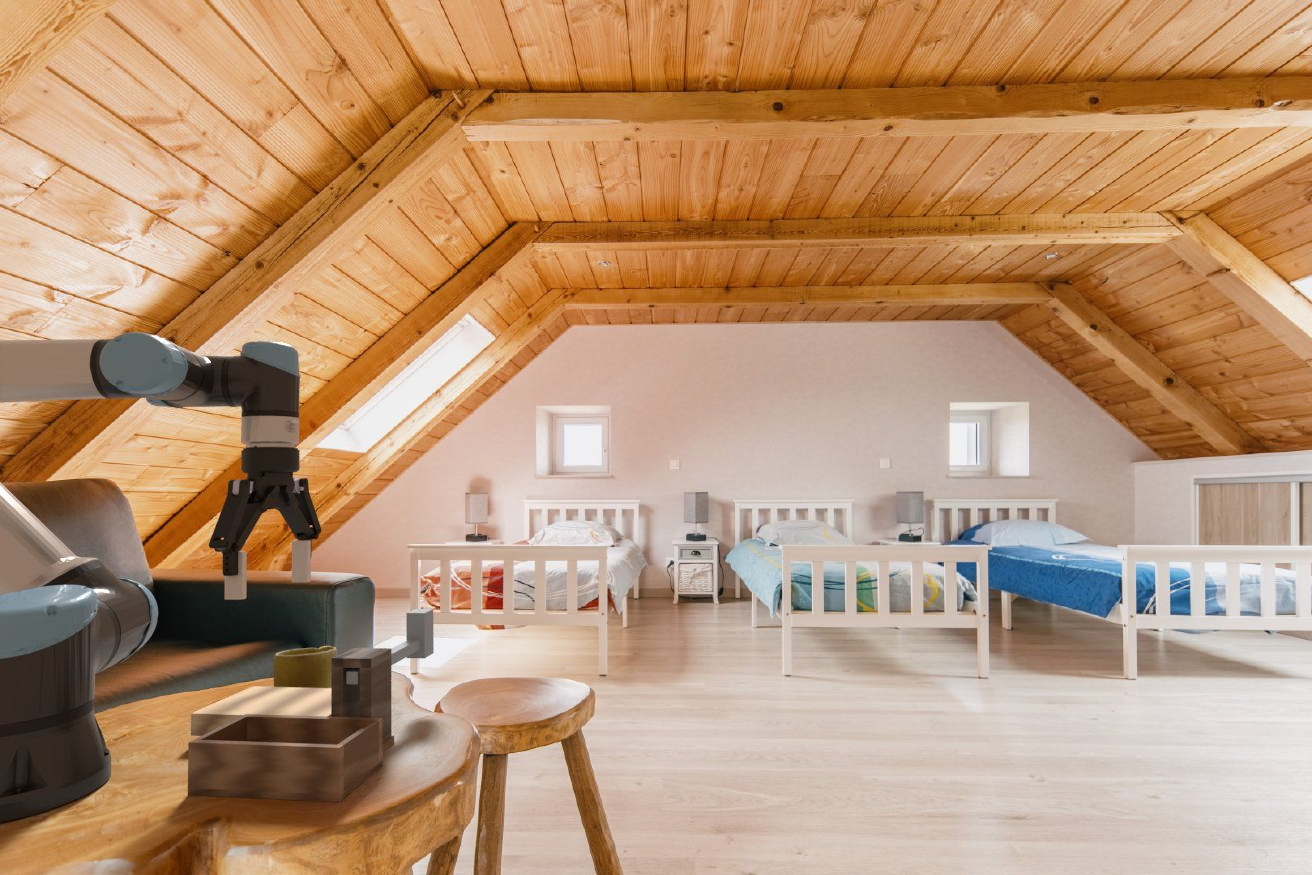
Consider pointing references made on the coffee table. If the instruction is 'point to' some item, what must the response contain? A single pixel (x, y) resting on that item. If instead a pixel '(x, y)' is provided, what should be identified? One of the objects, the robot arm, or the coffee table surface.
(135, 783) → the coffee table surface
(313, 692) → the lid
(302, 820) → the coffee table surface
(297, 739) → the toolbox
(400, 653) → the sliding bolt
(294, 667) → the mug
